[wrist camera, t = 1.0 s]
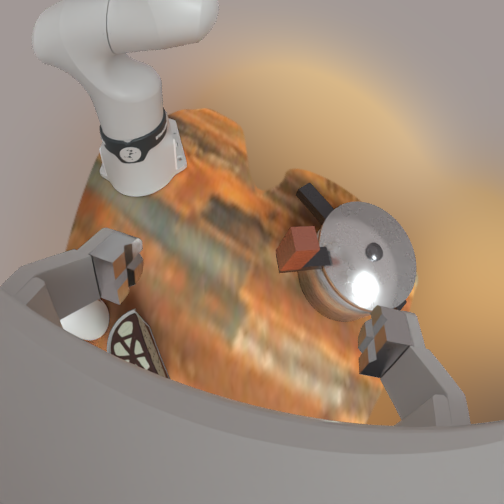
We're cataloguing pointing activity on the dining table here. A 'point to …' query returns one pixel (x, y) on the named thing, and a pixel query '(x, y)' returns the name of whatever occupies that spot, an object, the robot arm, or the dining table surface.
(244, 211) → the dining table surface
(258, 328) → the dining table surface
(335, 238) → the lid
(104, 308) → the milk bottle
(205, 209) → the dining table surface
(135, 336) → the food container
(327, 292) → the cooker pot
